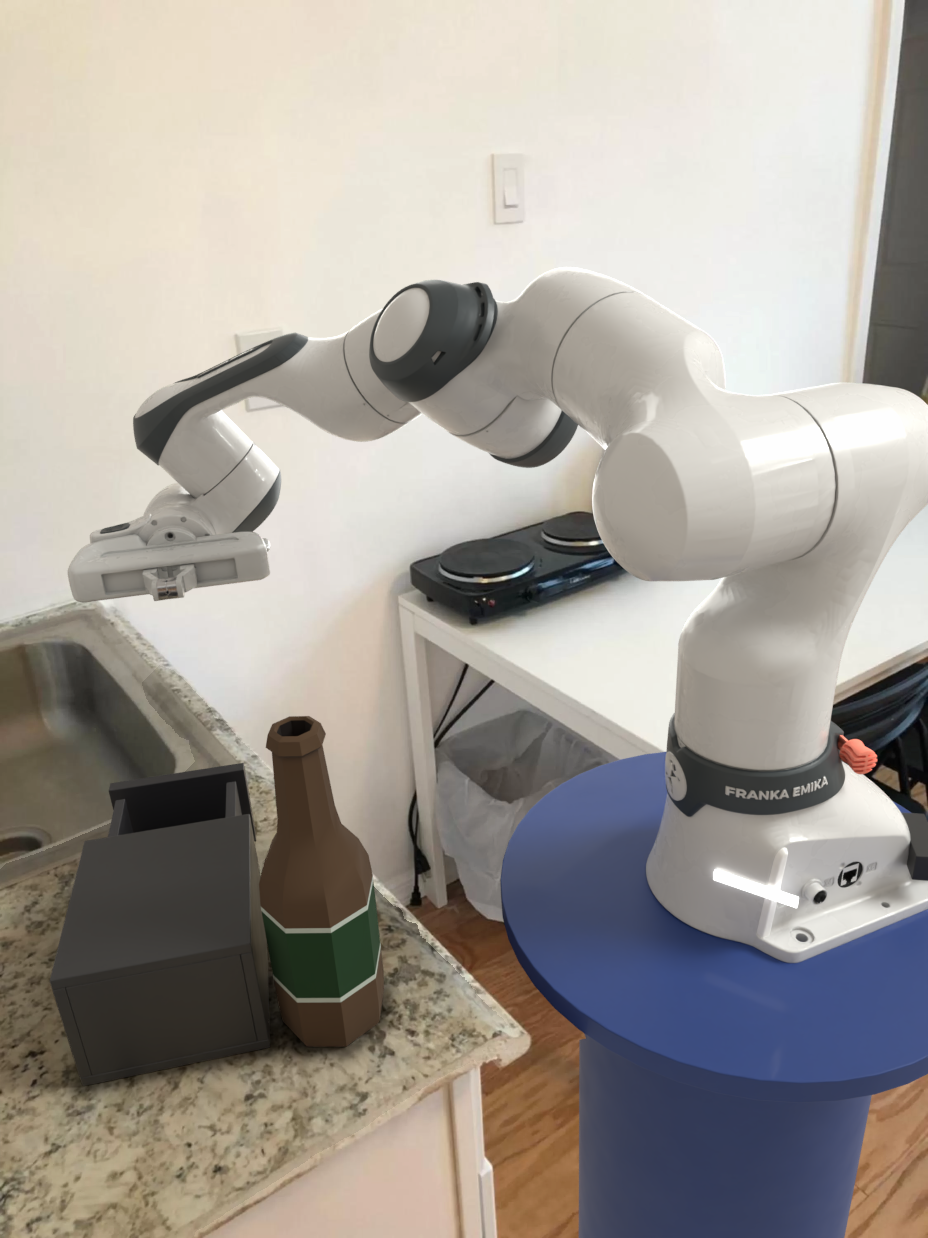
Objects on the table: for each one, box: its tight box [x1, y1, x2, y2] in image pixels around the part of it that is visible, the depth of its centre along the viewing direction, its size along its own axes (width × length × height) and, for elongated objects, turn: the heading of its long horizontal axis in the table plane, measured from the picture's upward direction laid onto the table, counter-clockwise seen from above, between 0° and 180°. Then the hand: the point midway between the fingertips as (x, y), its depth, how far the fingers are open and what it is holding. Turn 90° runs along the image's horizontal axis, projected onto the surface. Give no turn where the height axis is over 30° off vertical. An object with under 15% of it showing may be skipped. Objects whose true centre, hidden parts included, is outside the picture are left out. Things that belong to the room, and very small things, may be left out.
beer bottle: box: [259, 715, 385, 1048], centre depth 63 cm, size 8×8×24 cm
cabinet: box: [49, 814, 271, 1087], centre depth 69 cm, size 15×13×10 cm
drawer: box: [107, 762, 257, 842], centre depth 79 cm, size 18×11×8 cm, turn 12°
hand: (167, 592), depth 92 cm, fingers closed
